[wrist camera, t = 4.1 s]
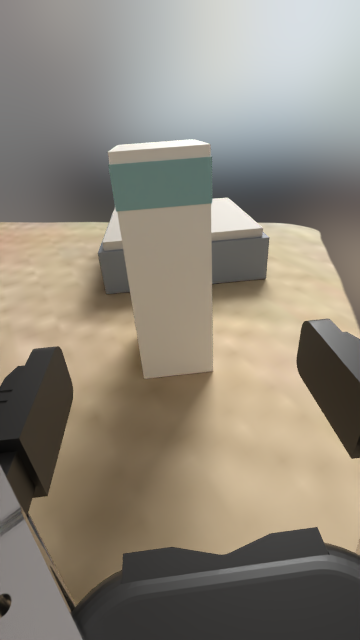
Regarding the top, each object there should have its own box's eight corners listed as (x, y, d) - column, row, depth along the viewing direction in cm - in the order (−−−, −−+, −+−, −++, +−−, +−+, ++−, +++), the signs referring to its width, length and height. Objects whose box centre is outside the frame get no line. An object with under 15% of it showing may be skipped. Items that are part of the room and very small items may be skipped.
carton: (143, 379, 21) (106, 152, 14) (143, 328, 26) (116, 145, 19) (214, 371, 21) (211, 143, 14) (200, 322, 26) (193, 139, 19)
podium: (106, 294, 32) (96, 244, 29) (117, 243, 45) (111, 206, 43) (265, 278, 32) (269, 228, 30) (230, 233, 46) (230, 196, 43)
